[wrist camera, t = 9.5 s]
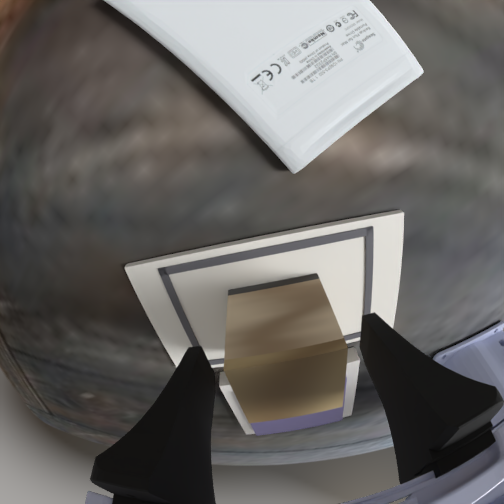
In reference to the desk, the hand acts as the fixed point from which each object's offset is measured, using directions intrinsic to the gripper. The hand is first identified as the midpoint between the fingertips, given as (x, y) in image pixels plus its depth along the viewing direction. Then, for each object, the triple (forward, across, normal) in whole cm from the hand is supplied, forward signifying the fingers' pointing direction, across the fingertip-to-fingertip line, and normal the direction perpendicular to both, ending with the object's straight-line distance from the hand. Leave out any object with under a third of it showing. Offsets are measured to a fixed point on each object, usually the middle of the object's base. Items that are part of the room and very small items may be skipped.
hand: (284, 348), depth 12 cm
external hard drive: (+4, -2, -14) cm, 15 cm away
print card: (+3, 0, 0) cm, 3 cm away
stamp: (+3, 0, 0) cm, 3 cm away
